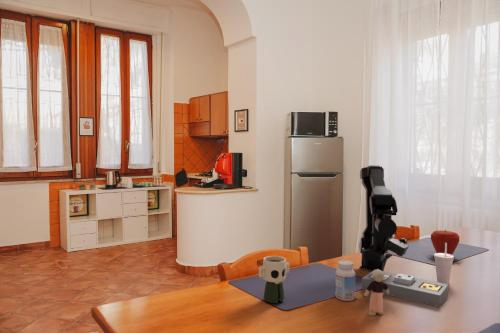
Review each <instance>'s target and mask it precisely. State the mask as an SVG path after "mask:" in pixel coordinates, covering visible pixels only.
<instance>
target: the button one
mask: <svg viewBox="0 0 500 333" xmlns="http://www.w3.org/2000/svg"><path fill="white" fill-rule="evenodd" d="M370 277H372V276H370ZM372 278H373V277H372ZM388 278H390V276H388V275H384V277H383V279H382V280H387V279H388Z"/></svg>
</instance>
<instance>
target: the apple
mask: <svg viewBox="0 0 500 333" xmlns="http://www.w3.org/2000/svg"><path fill="white" fill-rule="evenodd" d="M430 240H431V244H432V246H433V248H434V251H435V253H445V243H447V254H450V255H454V253H455V251H456V249H457V247H458V245H459V243H460V235H459V234H458V233H457V232H454V231H449V230H446V229H445V230H434V231H433V232H432V233H431V234H430Z"/></svg>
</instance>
